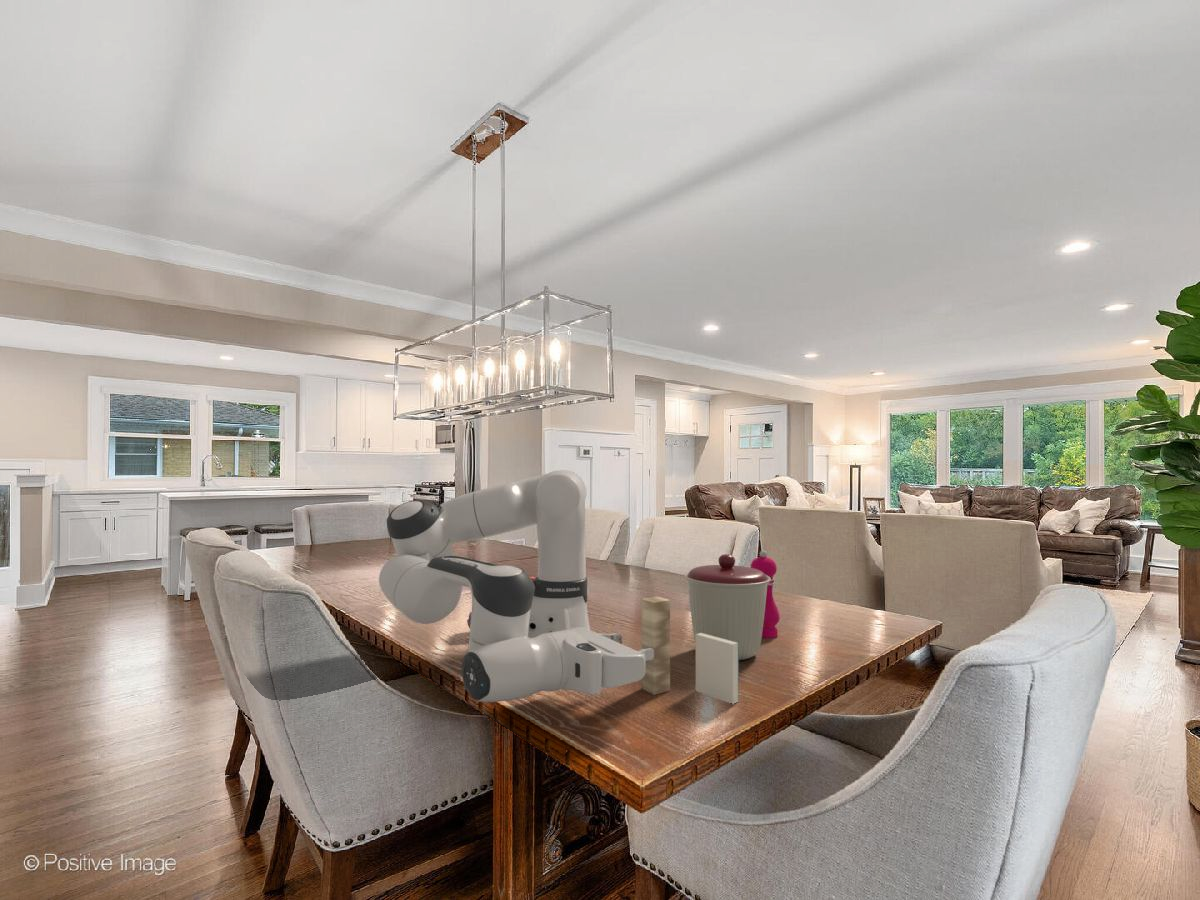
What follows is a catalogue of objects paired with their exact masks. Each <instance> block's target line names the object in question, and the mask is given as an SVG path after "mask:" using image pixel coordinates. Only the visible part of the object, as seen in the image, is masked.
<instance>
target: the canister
mask: <svg viewBox="0 0 1200 900" xmlns="http://www.w3.org/2000/svg"><path fill="white" fill-rule="evenodd" d="M735 564H736V559H735V557H734V556H733V555H731V554H721V555H720V556H719V557H718V564H710V565H700V566H697V567H694V568H692V569H691V570H689V571H687V572H686V573H684V575H683V576H684V578H685V580H686V581H687V589H688V590H687V591H688V598H689V599H688V600H689V606H690V607H689V608H690V617H691V619H690V620H691V625H692V626H691V627H692V633H693V640H694V643H695V645H696V634H698V633H704V634H708V635H712V636H716V637H719V638H723V639H727V640H730V641H734V642H738V661H742V660H743V661H744V660H747V659H751V658H753V657H755V655H757V653H758V652H759V650H760V647H761V643H762V639H763V638H762V631H763V623H764V614H765V604H766V594H767V584H768V583H769V582H770V581H771V578H770V577H769V576H767V575H765V574H764V573H763V572H762V571H760V570H757V569H754V568H751V566H750V567H749V566H744V565H743V566H742V565H735Z"/></svg>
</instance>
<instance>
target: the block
mask: <svg viewBox="0 0 1200 900" xmlns="http://www.w3.org/2000/svg"><path fill="white" fill-rule="evenodd" d="M643 647H649V648H652V649H653V650H654V658H653V659H652V660H648V661H646V673H645V676H644V677H643V678H642V679H641V689H642V690H644V691H646V692H648V693H649V694H651V695H655V696H656V695H658V694H663V693H666V692H670V691H671V600H670V599H668V598H664V597H660V596H657V595H656V596H651V597H644V598H641V648H643Z"/></svg>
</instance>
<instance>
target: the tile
mask: <svg viewBox="0 0 1200 900" xmlns="http://www.w3.org/2000/svg"><path fill="white" fill-rule="evenodd" d="M739 661H740V660H738V642H734V641H730V640H727V639H723V638H719V637H716V636H712V635H708V634H704V633H698V634H696V644H695V692H698V693H700V694H703V695H704V696H708V697H711V698H713V697H714V698H713V699H716V698H717V700H719V699H720V700H719V701H722V700H723V701H722V702H724V701H726V702H725V703H727V702H729V703H728V704H730V703H732V704H731V705H735V704H734V703H736V702H738V701H739V699H740V698H739V696H740V695H739V693H740V692H739V691H740V690H739V689H740V686H739V685H740V684H739V678H740V676H739V675H740V674H739V671H740V669H739V663H740V662H739ZM739 702H740V701H739ZM739 702H738V703H739ZM736 704H737V703H736Z"/></svg>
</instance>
